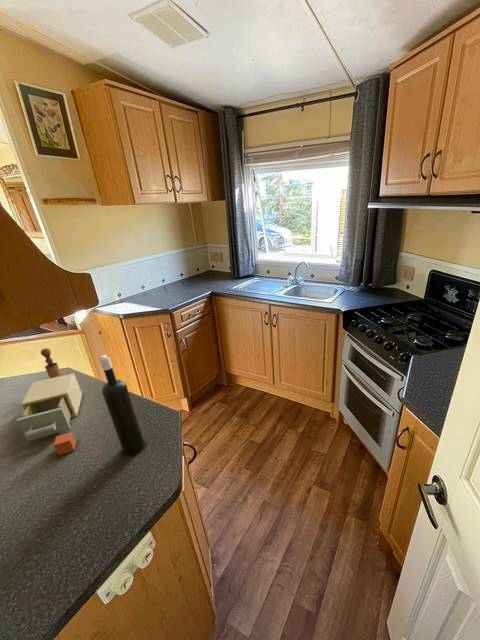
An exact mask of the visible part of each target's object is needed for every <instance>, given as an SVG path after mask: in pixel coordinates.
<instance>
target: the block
mask: <svg viewBox="0 0 480 640" xmlns="http://www.w3.org/2000/svg"><path fill="white" fill-rule="evenodd" d="M76 446H77V440H76V437H75V435H74V433H73V432H72V431H70V432H66V433H64V434H60V435H56V436H55V439H54V443H53V447H54V449H55V451H56V453H57V455H58V456H61V455H62V456H63V455H65V454H68V453H71V452H75V450H76Z"/></svg>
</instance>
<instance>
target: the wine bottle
mask: <svg viewBox="0 0 480 640" xmlns="http://www.w3.org/2000/svg"><path fill="white" fill-rule="evenodd" d="M110 358H111V357H110V355H109V354H103V355H101V356H100V357H98V359H99V362H100V365H101V367H102V370H103V373H104V375H105V378H106V382H107V383H105V384H104V385H103V386H102V389H101V393H102V395H103V396H102V397H103V398H104V402H105V404H106V407H107V411H108V412H109V416H110V419H111V421H112V424H113V427H114V429H115V432H116V435H117V438H118V441H119V444H120V447H121V450H122V452H123V454H124V455H126V456H133V455H136V454H138V453H140V452H141V451H142V450H143V449H144V447H145V440H144V438H143V434H142V431H141V428H140V425H139V421H138V418H137V415H136V412H135V409H134V405H133V402H132V399H131V395H130V391H129V389H128V386H127V384H126V382H125V381H124V380H122V379H117V378H116V374H115V371H114V369H113V364H112V361H111V359H110Z"/></svg>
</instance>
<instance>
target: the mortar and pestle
mask: <svg viewBox="0 0 480 640" xmlns="http://www.w3.org/2000/svg"><path fill="white" fill-rule="evenodd" d="M51 354H52V351H51V349H50V348H47V347H46V348H42V349H41V350H40V355H41V356H42V357H44V358H45V360H44V362H45V363H46V364H45V366H44V369H45V371H46V372H47V375H48V377H49V379H50V378H54V377H59V376H63V375H62V372H61V369H60V368H59V365H58V363H57V362H54V360H53V358H52V357H51Z"/></svg>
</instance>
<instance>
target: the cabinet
mask: <svg viewBox="0 0 480 640" xmlns="http://www.w3.org/2000/svg"><path fill="white" fill-rule="evenodd" d="M61 396H66V398H67V401H68V403H69V405H70V408H71V410H72V414H71V417H70V419H71V418H75V417H78V415H79V414H78V413H79V411H80V410H79V409H80V405H81V401H82V397H83V393H82V390H81V387H80V384H79V381H78V380H77V377H76V375H75V373H74V372H72V373H69V374H64V375H62V376H59V377H54V378H50V377H49V378H46V379H42V380H37V381H33V382H32V384H31V386H30V387H29V388H28V391H27V393H26V394H25V396H24V398H23V399H22V402H21V404H20V405H21V407H22V409H23V412H24V411H25V409H26V407H27V405H28V404H32V403H36V402H40V401H44V400H48V399H53V398H57V397H61Z"/></svg>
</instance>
